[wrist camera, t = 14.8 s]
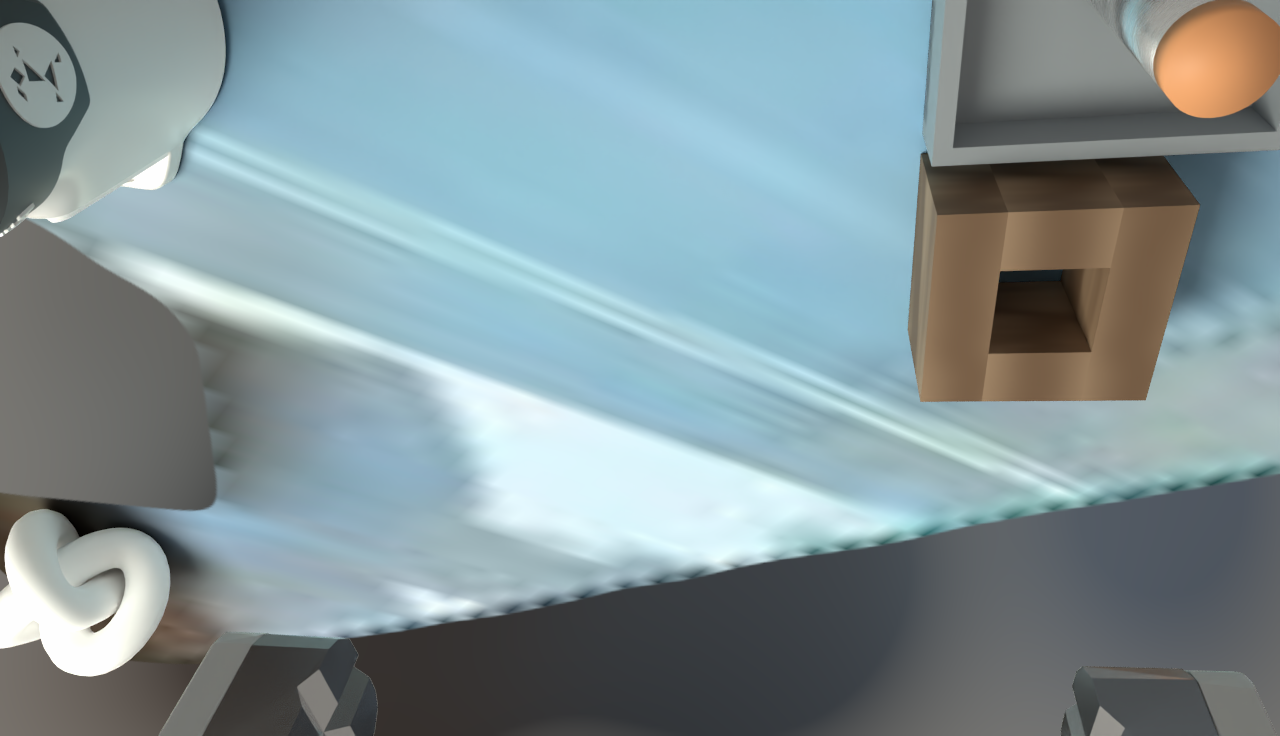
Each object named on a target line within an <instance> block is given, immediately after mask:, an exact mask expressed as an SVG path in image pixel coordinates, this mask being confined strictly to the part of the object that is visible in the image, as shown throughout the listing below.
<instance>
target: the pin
mask: <svg viewBox="0 0 1280 736" xmlns="http://www.w3.org/2000/svg"><path fill="white" fill-rule="evenodd" d="M1088 2H1089V3H1090V4H1091V5H1092V7H1093V8H1094V9H1095V10H1096V11H1097V13H1098V14H1099V15H1100V16H1101V17H1102V19H1103V20H1104V21H1105V22H1106V23H1107V25H1108V26H1109V27H1110V28H1111V29H1112V31H1113V32H1114V33H1115V34H1116V35H1117V37H1118V38H1119V39H1120V40H1121V42H1122V43H1123V44H1124V45H1125V46H1126V48H1127V49H1128V50H1129V51H1130V52H1131V54H1132V55H1133V56H1134V57H1135V58H1136V60H1137V61H1138V62H1139V63H1140V64H1141V66H1142V67H1143V68H1144V69H1145V70H1146V72H1147V73H1148V74H1149V75H1150V77H1151V78H1152V79H1153V80H1154V81H1155V83H1156V84H1157V85H1158V86H1159V87H1160V89H1161V90H1162V91H1163V92H1164V93H1165V95H1166V96H1167V97H1168V98H1169V99H1170V101H1171V102H1172V103H1173V104H1174V105H1175V106H1176V107H1177V108H1178V109H1179V110H1181V111H1182V112H1184V113H1186V114H1188V115H1191V116H1194V117H1200V118H1216V117H1222V116H1226V115H1229V114H1233V113H1235V112H1238V111H1240V110H1242V109H1244V108H1246V107H1248V106H1249V105H1251V104H1252V103H1254V102H1255V101H1257V100H1258V99H1259V98H1260V97H1262V96H1263V95H1264V94H1265V93H1266V92H1267V91H1268V90H1269V89H1270V87H1271V86H1272V85H1273V84H1274V82H1275V81H1276V79H1277V78H1278V76H1279V75H1280V26H1279V25H1278V24H1277V23H1276V22H1275V21H1274V20H1273V19H1271V18H1270V17H1269V16H1268V15H1266V14H1265V13H1264V12H1262V11H1261V10H1260V9H1259V8H1257V7H1256V6H1255V5H1253V4H1252V3H1251V2H1250V1H1248V0H1088Z"/></svg>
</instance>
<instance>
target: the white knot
mask: <svg viewBox="0 0 1280 736" xmlns="http://www.w3.org/2000/svg"><path fill="white" fill-rule="evenodd" d="M5 567H6V572H7V577H8V581H9V585H8V586H6V587H5V588H4V589H3V590H2V591H1V592H0V648H7V647H13V646H17V645H21V644H25V643H28V642H31V641H35V640H38V639H41V640H42V643H43V646H44V648H45V650H46V651H47V653H48V655H49V656H50V658H51V659H52V661H53V662H54V663H55V664H56V666H57V667H59V668H60V669H62V670H64V671H65V672H68V673H72V674H75V675H80V676H95V675H100V674H105V673H107V672H109V671H112V670H114V669H116V668H118V667H120V666H121V665H123V664H124V663H126V662H127V661H128V660H130V659H131V658H132V657H133V656H134V655H135V654H136V653H137V652H138V651H139V650H140V649H141V648H142V647H143V646H144V645H145V644H146V642H147V641H148V640H149V638H150V637H151V636H152V634H153V633H154V631H155V630H156V628H157V626H158V624H159V622H160V620H161V618H162V616H163V614H164V611H165V608H166V605H167V602H168V597H169V590H170V569H169V566H168V562H167V558H166V555H165V554H164V552H163V550H162V549H161V547H160V545H159V544H158V543H157V542H156V541H155V540H154V539H153V538H152V537H150V536H149V535H147V534H145V533H143V532H141V531H138V530H134V529H131V528H109V529H105V530H100V531H96V532H92V533H90V534H87V535H84V536H82V537H79V535H78V533H77V531H76V529H75V528H74V527H73V525H72V524H71V523H70V521H69V520H68V519H67V518H66V517H65V516H64V515H63V514H61V513H59V512H55V511H52V510H49V509H41V510H36V511H31V512H29V513H27V514H26V515H24V516H23V517H22V518H20V519H19V520H18V521H17V522H15V524H14V525H13V527H12V529H11V531H10V534H9V537H8V540H7V544H6V548H5ZM115 612H117V613H116V614H115V616H114V617H113V619H112V620H111V621H110V623H109V624H108V625H107V626H106V627H105V628H103V629H102V630H100V631H98V632H96V633H93V632H92V631H91V629H90V626H92V625H94V624H97V623H99V622H101V621H103V620H104V619H106V618H108V617H109V616H111V615H112V614H114V613H115Z"/></svg>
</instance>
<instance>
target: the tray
mask: <svg viewBox="0 0 1280 736" xmlns="http://www.w3.org/2000/svg"><path fill="white" fill-rule="evenodd" d="M1248 1H1250V2H1251V3H1252V4H1253V5H1255V6H1256V7H1257V8H1259V9H1260V10H1261V11H1262V12H1264V13H1265V14H1266V15H1268V16H1269V17H1270V18H1271V19H1273V20H1274V21H1275V22H1276V23H1277V24H1278V25H1279V26H1280V0H1248ZM922 134H923V137H924V141H925V144H926V148H927V151H928V155H929V159H930V162H931V166H932V167H934V166H954V165H975V164H996V163H1017V162H1038V161H1059V160H1079V159H1100V158H1121V157H1142V156H1163V155H1184V154H1204V153H1225V152H1246V151H1267V150H1280V75H1279V76H1278V78H1277V79H1276V81H1275V82H1274V84H1273V85H1272V86H1271V87H1270V89H1269V90H1268V91H1267V92H1266V93H1265V94H1264V95H1263V96H1262V97H1260V98H1259V99H1258V100H1257V101H1255V102H1254V103H1252V104H1251V105H1249V106H1248V107H1246V108H1244V109H1242V110H1240V111H1238V112H1235V113H1233V114H1229V115H1226V116H1222V117H1216V118H1200V117H1194V116H1191V115H1188V114H1186V113H1184V112H1182V111H1181V110H1179V109H1178V108H1177V107H1176V106H1175V105H1174V104H1173V103H1172V102H1171V101H1170V99H1169V98H1168V97H1167V96H1166V95H1165V93H1164V92H1163V91H1162V90H1161V89H1160V87H1159V86H1158V85H1157V84H1156V83H1155V81H1154V80H1153V79H1152V78H1151V77H1150V75H1149V74H1148V73H1147V72H1146V70H1145V69H1144V68H1143V67H1142V66H1141V64H1140V63H1139V62H1138V61H1137V60H1136V58H1135V57H1134V56H1133V55H1132V54H1131V52H1130V51H1129V50H1128V49H1127V48H1126V46H1125V45H1124V44H1123V43H1122V42H1121V40H1120V39H1119V38H1118V37H1117V35H1116V34H1115V33H1114V32H1113V31H1112V29H1111V28H1110V27H1109V26H1108V25H1107V23H1106V22H1105V21H1104V20H1103V19H1102V17H1101V16H1100V15H1099V14H1098V13H1097V11H1096V10H1095V9H1094V8H1093V7H1092V5H1091V4H1090V3H1089V2H1088V0H932V12H931V25H930V39H929V52H928V66H927V79H926V92H925V106H924V119H923V132H922Z"/></svg>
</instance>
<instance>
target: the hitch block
mask: <svg viewBox="0 0 1280 736" xmlns="http://www.w3.org/2000/svg"><path fill="white" fill-rule="evenodd" d="M1199 207H1200V204H1199V203H1198V201H1197V200H1196V199H1195V197H1194V196H1193V195H1192V193H1191V192H1190V191H1189V189H1188V188H1187V187H1186V185H1185V184H1184V183H1183V181H1182V180H1181V179H1180V177H1179V176H1178V175H1177V173H1176V172H1175V171H1174V169H1173V168H1172V167H1171V165H1170V164H1169V163H1168V161H1167V160H1166V159H1165V157H1164V156H1142V157H1121V158H1100V159H1079V160H1059V161H1038V162H1017V163H996V164H975V165H954V166H934V167H932V166H931V162H930V159H929V155H928V153H924V154H921V159H920V173H919V186H918V199H917V213H916V226H915V240H914V253H913V266H912V280H911V293H910V307H909V320H908V334H909V339H910V345H911V351H912V356H913V362H914V368H915V373H916V379H917V385H918V390H919V396H920V402H938V401H1101V400H1146V397H1147V393H1148V390H1149V386H1150V383H1151V379H1152V375H1153V372H1154V368H1155V365H1156V361H1157V358H1158V354H1159V350H1160V347H1161V343H1162V340H1163V336H1164V332H1165V329H1166V325H1167V322H1168V318H1169V315H1170V311H1171V307H1172V304H1173V300H1174V297H1175V293H1176V290H1177V286H1178V282H1179V279H1180V275H1181V272H1182V268H1183V264H1184V261H1185V257H1186V254H1187V250H1188V247H1189V243H1190V239H1191V236H1192V232H1193V229H1194V225H1195V221H1196V218H1197V214H1198V211H1199ZM1055 269H1063V270H1062V276H1061V281H1035V282H999V276H1000V271H1021V270H1055Z"/></svg>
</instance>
